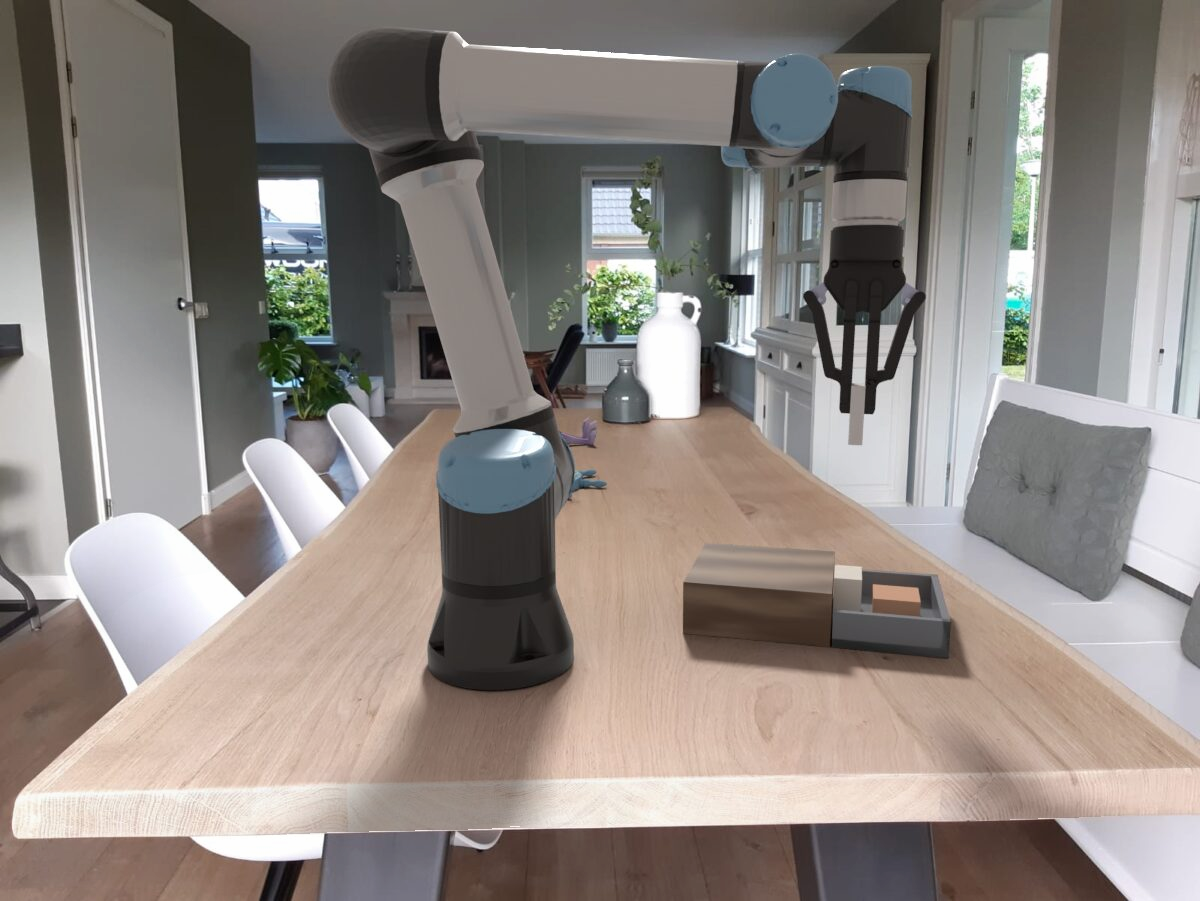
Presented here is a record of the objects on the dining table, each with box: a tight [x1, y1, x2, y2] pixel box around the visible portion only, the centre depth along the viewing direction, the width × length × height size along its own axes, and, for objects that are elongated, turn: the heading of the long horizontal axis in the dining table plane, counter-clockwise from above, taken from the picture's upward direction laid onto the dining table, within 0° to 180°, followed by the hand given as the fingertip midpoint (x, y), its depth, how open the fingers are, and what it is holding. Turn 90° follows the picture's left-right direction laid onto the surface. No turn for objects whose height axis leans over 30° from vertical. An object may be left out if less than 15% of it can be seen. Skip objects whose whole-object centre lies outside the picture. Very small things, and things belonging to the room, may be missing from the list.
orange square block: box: [872, 584, 921, 617], centre depth 104 cm, size 5×5×3 cm
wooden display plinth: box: [682, 542, 836, 648], centre depth 108 cm, size 16×16×6 cm
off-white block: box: [832, 564, 863, 612], centre depth 105 cm, size 5×5×3 cm
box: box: [831, 568, 952, 659], centre depth 104 cm, size 16×12×4 cm
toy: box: [559, 416, 598, 446], centre depth 219 cm, size 26×9×30 cm
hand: (855, 442), depth 102 cm, fingers closed
